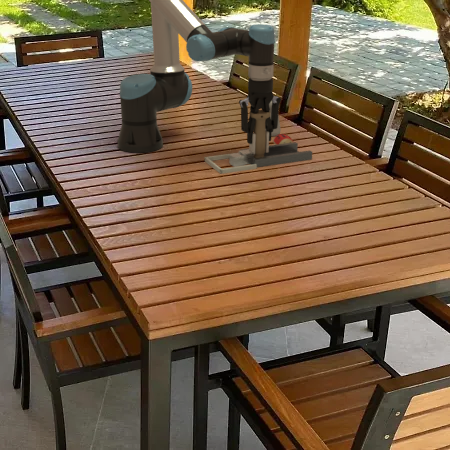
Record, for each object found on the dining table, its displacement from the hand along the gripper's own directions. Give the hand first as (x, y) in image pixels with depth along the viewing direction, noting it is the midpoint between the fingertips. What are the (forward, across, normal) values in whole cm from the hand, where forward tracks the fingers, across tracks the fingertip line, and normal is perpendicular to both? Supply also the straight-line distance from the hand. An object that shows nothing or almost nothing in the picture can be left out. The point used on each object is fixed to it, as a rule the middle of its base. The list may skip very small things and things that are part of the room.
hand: (258, 152), depth 225 cm
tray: (+4, -10, 0) cm, 11 cm away
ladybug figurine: (+4, +16, +13) cm, 21 cm away
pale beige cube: (+3, -4, 0) cm, 5 cm away
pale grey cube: (+3, -8, -1) cm, 9 cm away
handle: (+2, 0, 0) cm, 2 cm away
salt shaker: (+4, +17, +24) cm, 30 cm away
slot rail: (+4, +6, 0) cm, 7 cm away
